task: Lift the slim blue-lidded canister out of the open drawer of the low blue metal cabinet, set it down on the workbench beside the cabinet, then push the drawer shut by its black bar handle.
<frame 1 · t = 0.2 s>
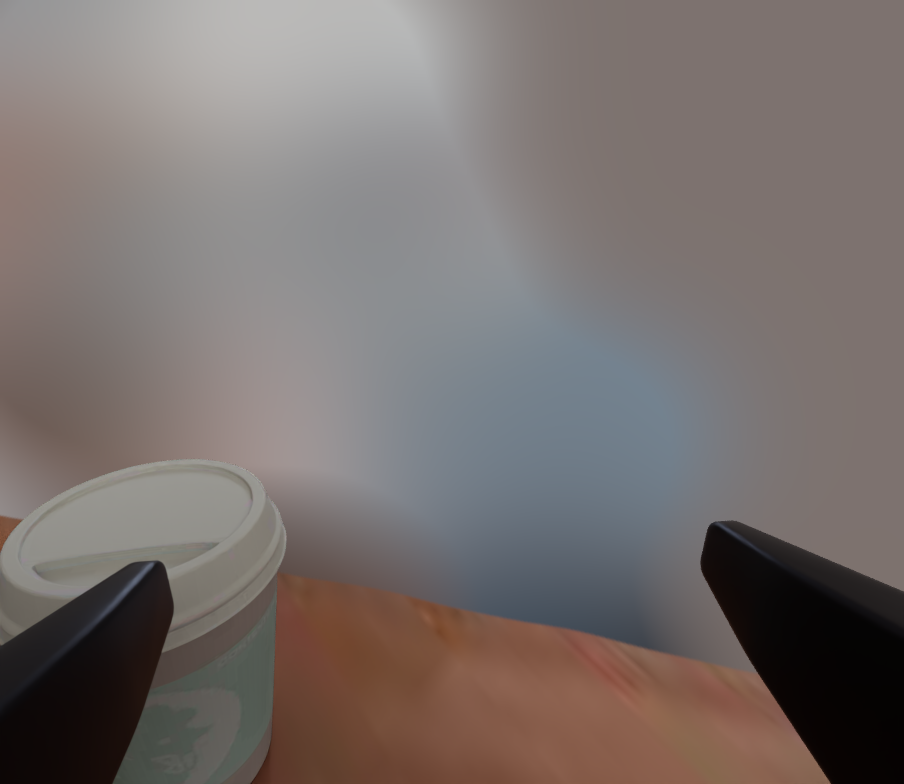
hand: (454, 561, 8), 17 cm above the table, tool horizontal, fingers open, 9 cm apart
coffee cup: (200, 754, 21), on the table
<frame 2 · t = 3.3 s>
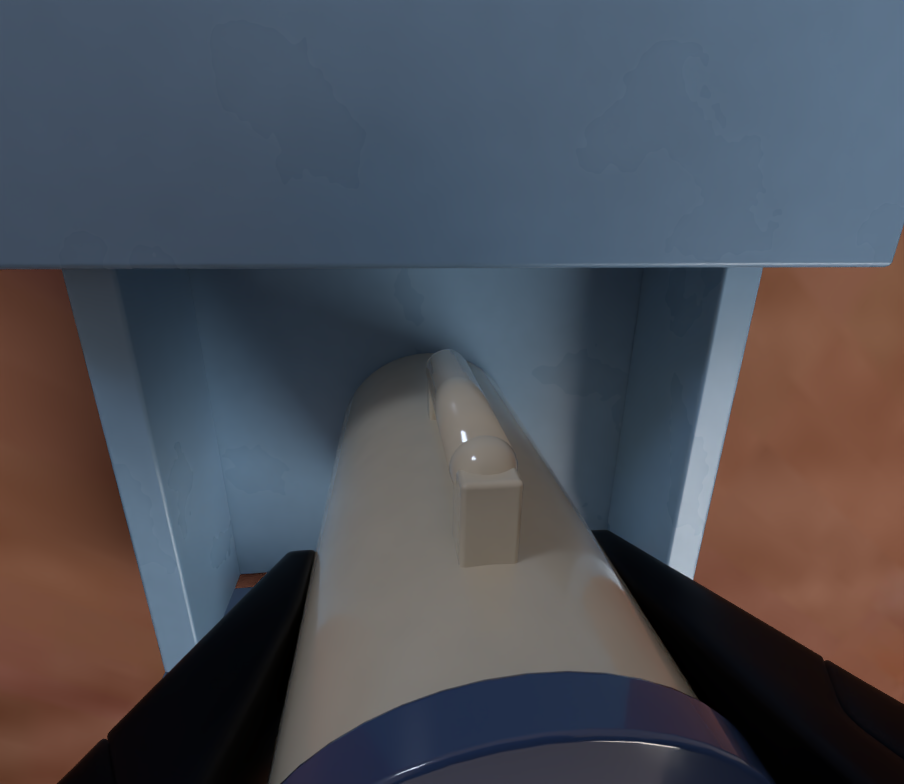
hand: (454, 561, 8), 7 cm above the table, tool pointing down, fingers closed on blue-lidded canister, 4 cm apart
drawer: (433, 489, 12), point 3 cm above the table, slide at 10.0 cm, touching blue-lidded canister
blue-lidded canister: (428, 434, 13), point 2 cm above the table, touching drawer, gripper
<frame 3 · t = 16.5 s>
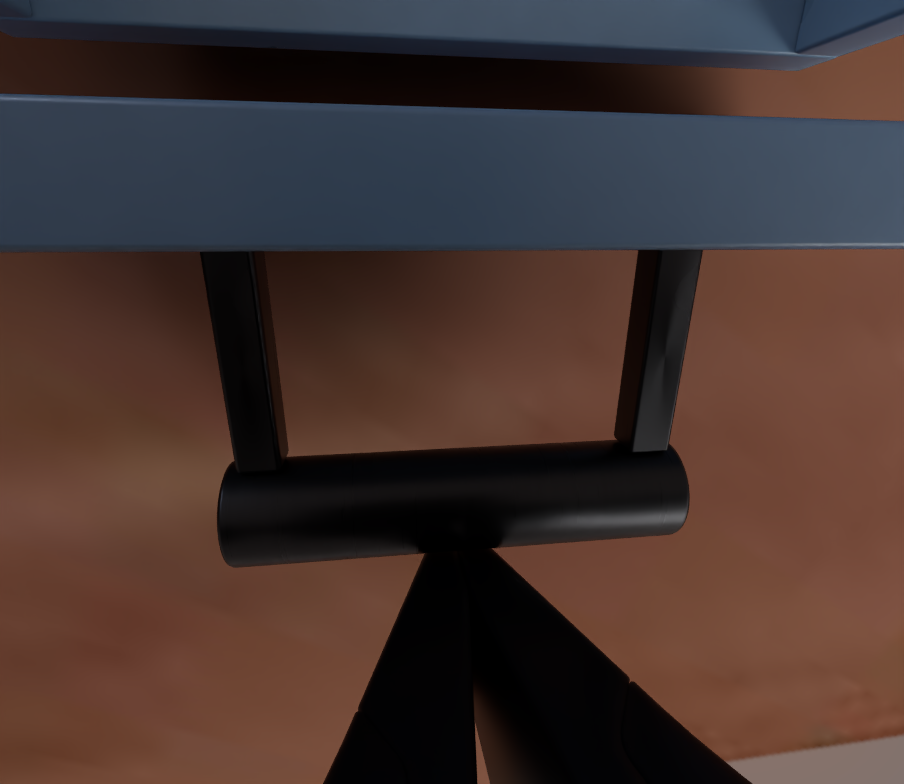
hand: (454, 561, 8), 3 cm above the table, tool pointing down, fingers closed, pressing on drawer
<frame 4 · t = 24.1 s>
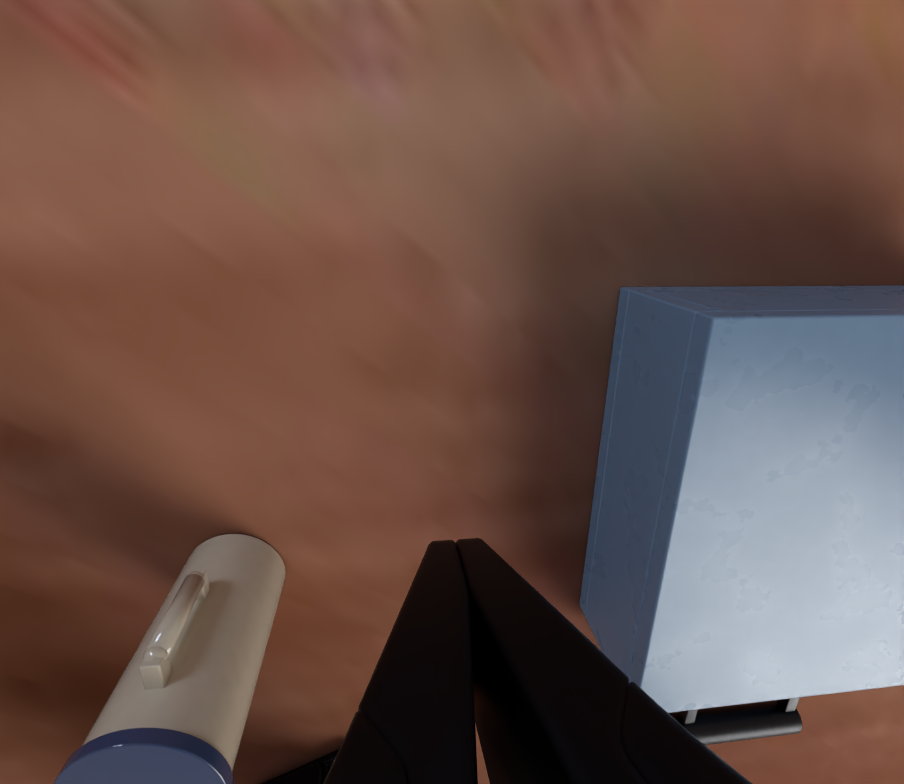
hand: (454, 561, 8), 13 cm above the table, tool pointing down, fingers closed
drawer: (766, 567, 23), point 3 cm above the table, slide at 0.0 cm, touching cabinet
cabinet: (739, 458, 24), on the table
blue-lidded canister: (236, 573, 23), on the table
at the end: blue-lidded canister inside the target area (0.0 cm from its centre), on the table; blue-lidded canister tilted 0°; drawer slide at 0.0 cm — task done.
